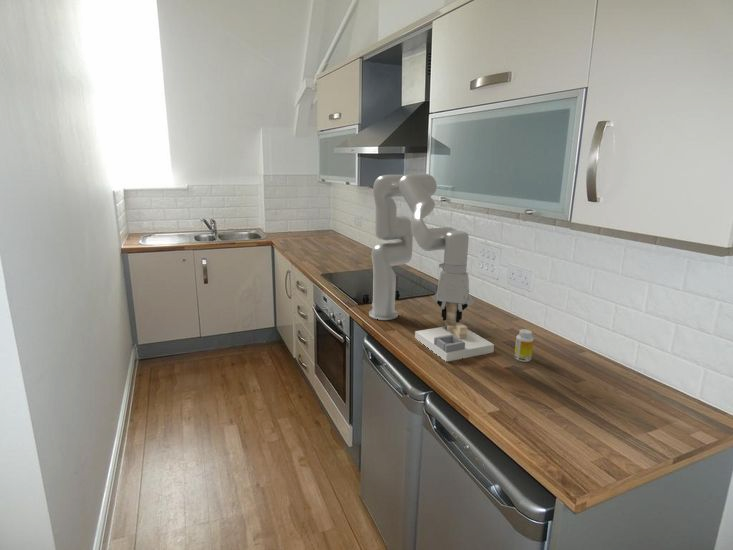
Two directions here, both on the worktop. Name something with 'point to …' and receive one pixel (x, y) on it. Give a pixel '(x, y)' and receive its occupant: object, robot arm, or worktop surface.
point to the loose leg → (451, 314)
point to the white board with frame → (453, 343)
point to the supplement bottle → (524, 345)
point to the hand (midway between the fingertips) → (451, 319)
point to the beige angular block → (458, 330)
